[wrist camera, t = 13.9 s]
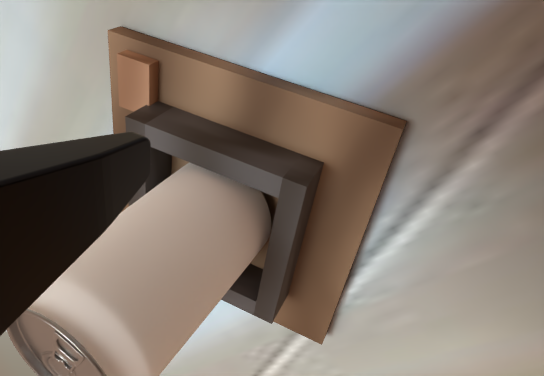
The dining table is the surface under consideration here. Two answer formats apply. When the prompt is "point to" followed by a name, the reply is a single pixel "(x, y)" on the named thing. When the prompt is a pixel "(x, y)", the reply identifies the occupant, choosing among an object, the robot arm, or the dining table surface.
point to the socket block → (262, 165)
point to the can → (146, 279)
